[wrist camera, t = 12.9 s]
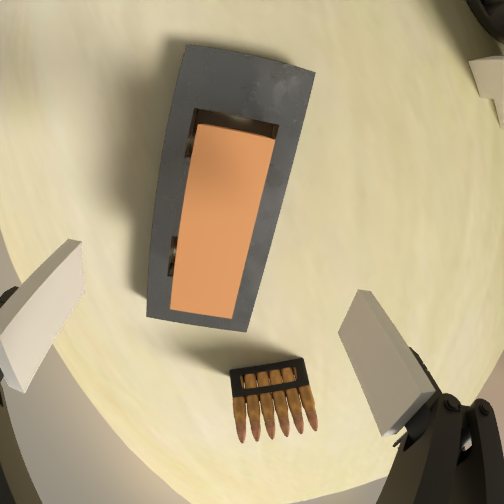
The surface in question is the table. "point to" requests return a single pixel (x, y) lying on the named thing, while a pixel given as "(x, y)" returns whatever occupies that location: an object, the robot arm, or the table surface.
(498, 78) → the corner bracket
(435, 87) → the table surface
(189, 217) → the clip
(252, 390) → the ammunition clip
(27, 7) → the table surface
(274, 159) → the gray slotted base board
